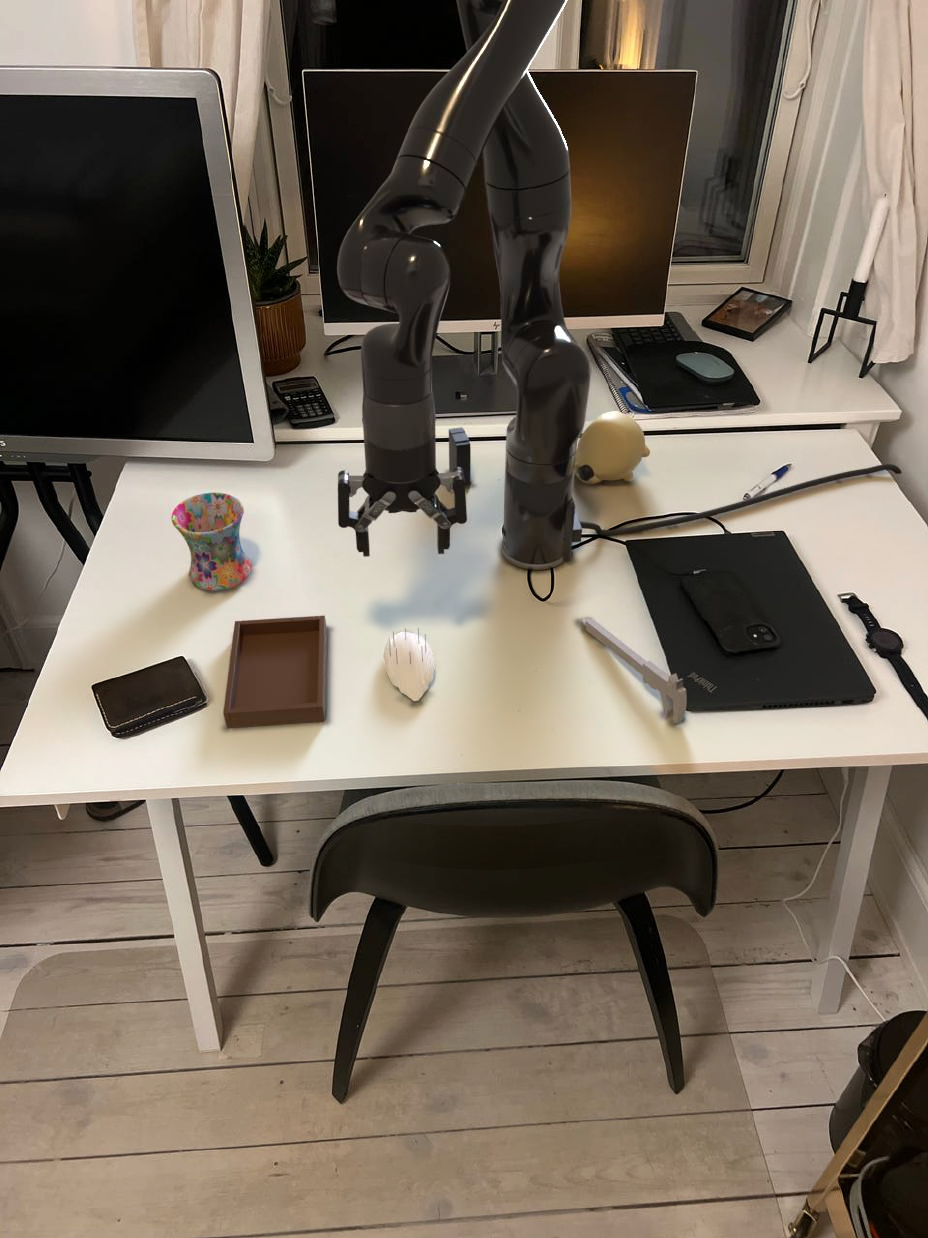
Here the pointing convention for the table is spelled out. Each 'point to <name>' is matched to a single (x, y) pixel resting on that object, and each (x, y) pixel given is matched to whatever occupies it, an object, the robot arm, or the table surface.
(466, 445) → the ink cartridge
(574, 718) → the table surface
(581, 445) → the toy pig
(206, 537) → the mug
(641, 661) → the caliper
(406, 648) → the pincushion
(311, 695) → the tray
